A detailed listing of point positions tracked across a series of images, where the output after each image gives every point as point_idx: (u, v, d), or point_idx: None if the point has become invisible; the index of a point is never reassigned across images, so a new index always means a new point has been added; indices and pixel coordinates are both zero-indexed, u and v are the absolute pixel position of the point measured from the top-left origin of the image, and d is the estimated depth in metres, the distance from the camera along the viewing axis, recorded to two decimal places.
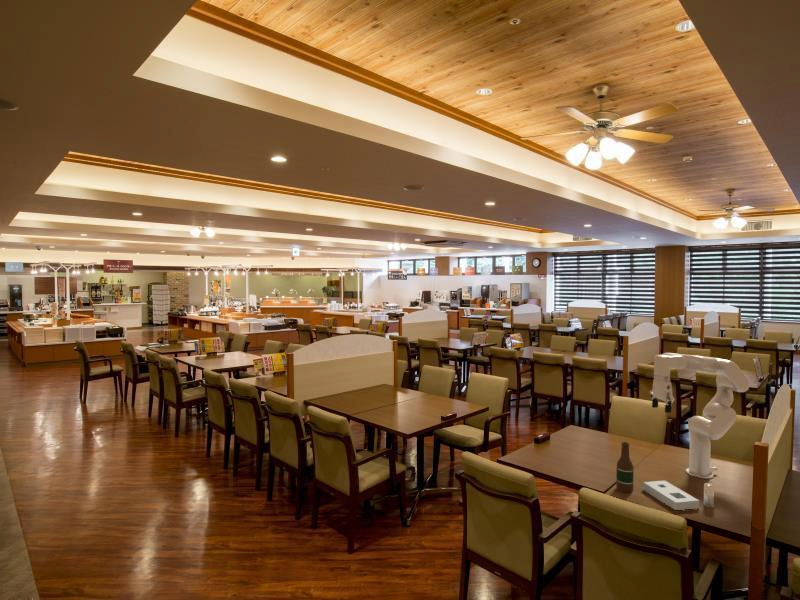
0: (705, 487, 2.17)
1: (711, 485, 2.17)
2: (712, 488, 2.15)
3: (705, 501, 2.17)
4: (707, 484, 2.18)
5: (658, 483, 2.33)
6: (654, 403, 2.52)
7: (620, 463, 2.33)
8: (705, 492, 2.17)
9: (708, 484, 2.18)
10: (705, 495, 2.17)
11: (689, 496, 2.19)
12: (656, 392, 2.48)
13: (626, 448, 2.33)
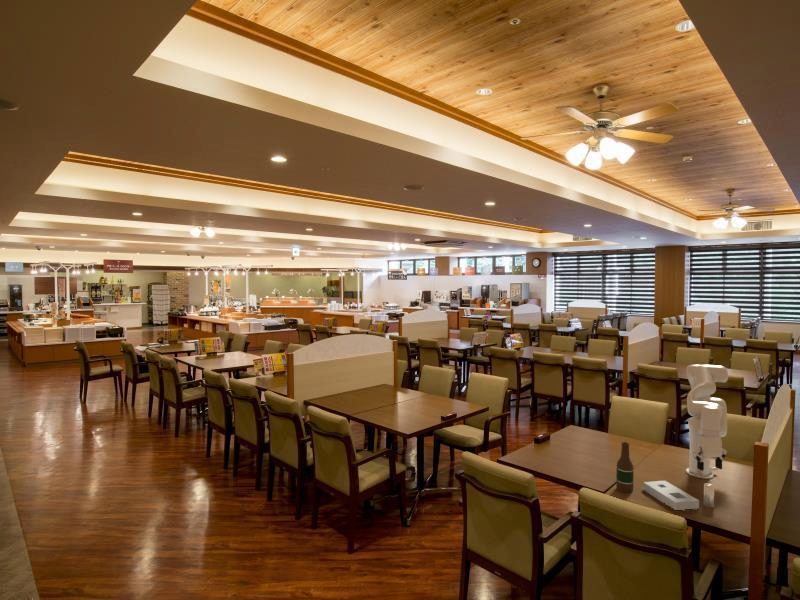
0: (705, 487, 2.17)
1: (711, 485, 2.17)
2: (712, 488, 2.15)
3: (705, 501, 2.17)
4: (707, 484, 2.18)
5: (658, 483, 2.33)
6: None
7: (620, 463, 2.33)
8: (705, 492, 2.17)
9: (708, 484, 2.18)
10: (705, 495, 2.17)
11: (689, 496, 2.19)
12: (712, 451, 2.14)
13: (626, 448, 2.33)
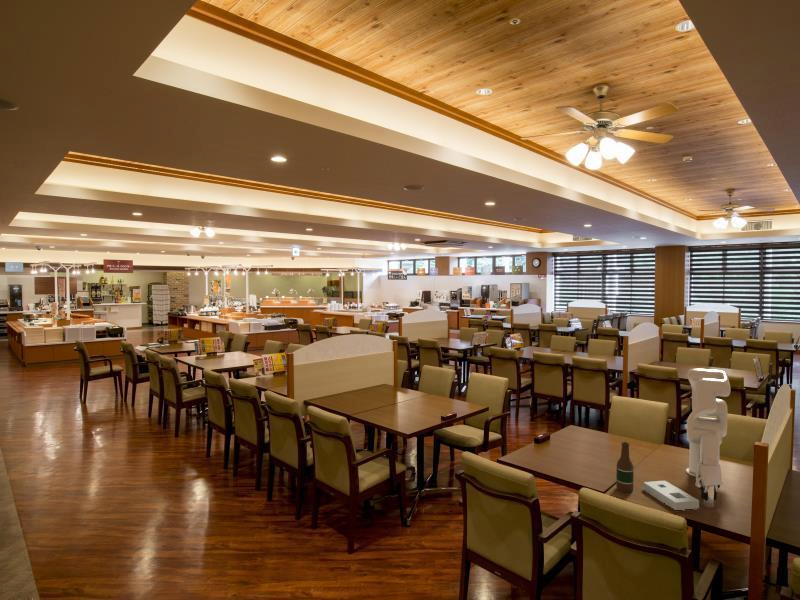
0: None
1: None
2: (712, 488, 2.15)
3: (705, 501, 2.17)
4: None
5: (658, 483, 2.33)
6: None
7: (620, 463, 2.33)
8: None
9: None
10: None
11: (689, 496, 2.19)
12: (711, 479, 2.15)
13: (626, 448, 2.33)
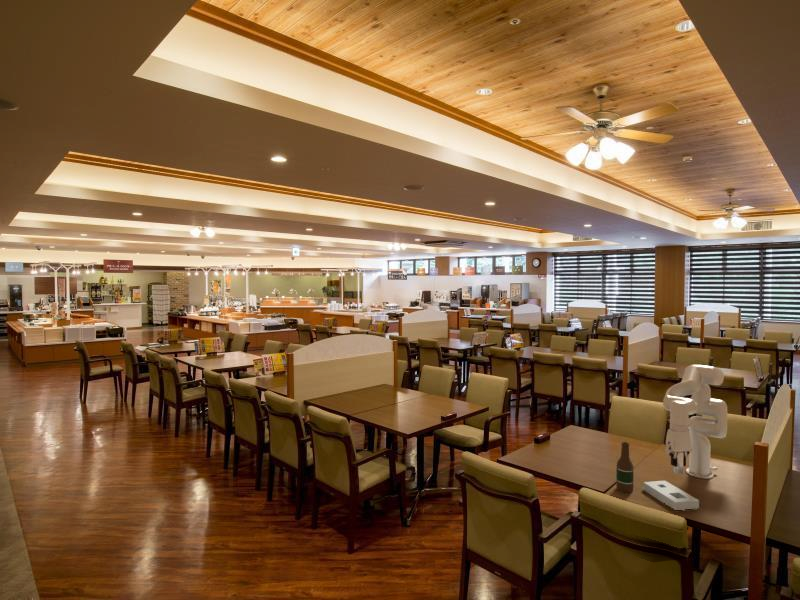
0: None
1: None
2: (681, 454, 2.17)
3: (675, 467, 2.18)
4: None
5: (658, 483, 2.33)
6: None
7: (620, 463, 2.33)
8: None
9: None
10: None
11: (689, 496, 2.19)
12: (680, 445, 2.16)
13: (626, 448, 2.33)
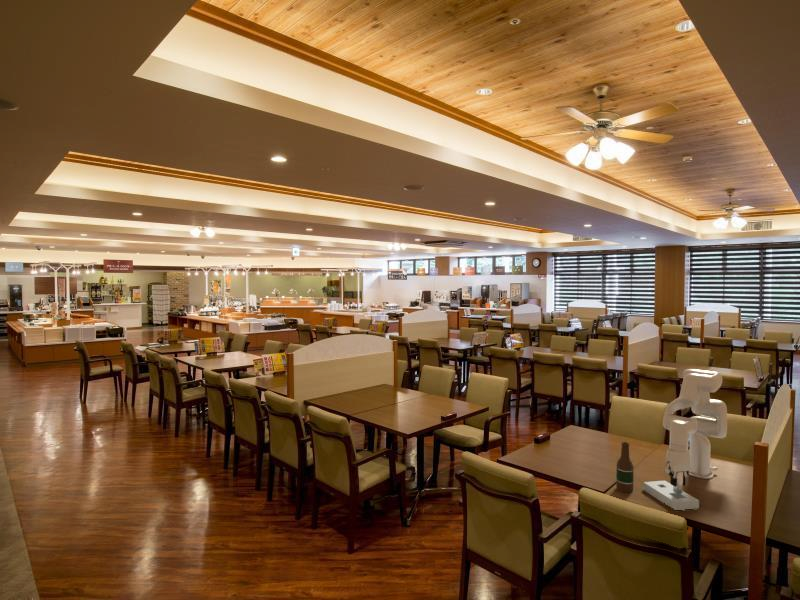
0: None
1: None
2: (681, 474, 2.17)
3: (674, 487, 2.19)
4: None
5: (658, 483, 2.33)
6: None
7: (620, 463, 2.33)
8: None
9: None
10: None
11: (689, 496, 2.19)
12: (680, 465, 2.16)
13: (626, 448, 2.33)
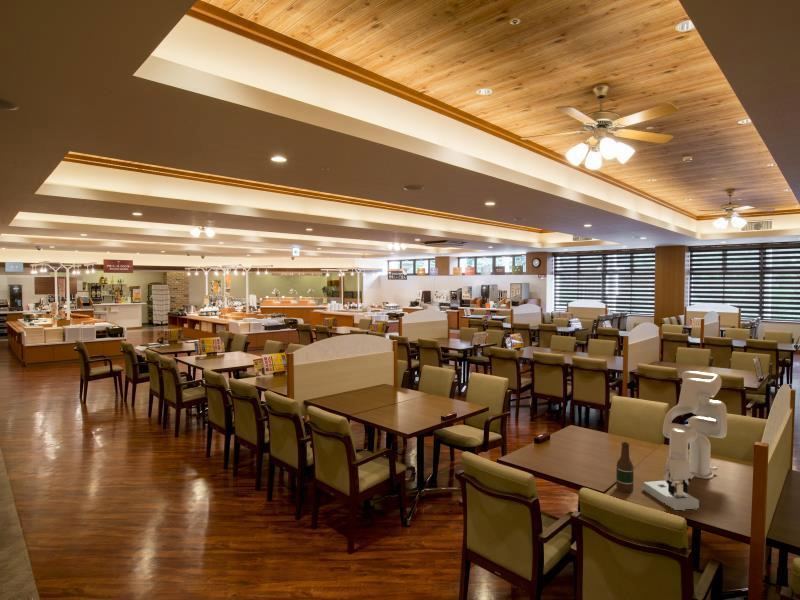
0: (674, 485, 2.19)
1: (680, 483, 2.18)
2: (681, 486, 2.17)
3: None
4: (676, 482, 2.20)
5: (658, 483, 2.33)
6: None
7: (620, 463, 2.33)
8: None
9: (677, 482, 2.19)
10: (674, 493, 2.19)
11: (689, 496, 2.19)
12: (680, 473, 2.17)
13: (626, 448, 2.33)
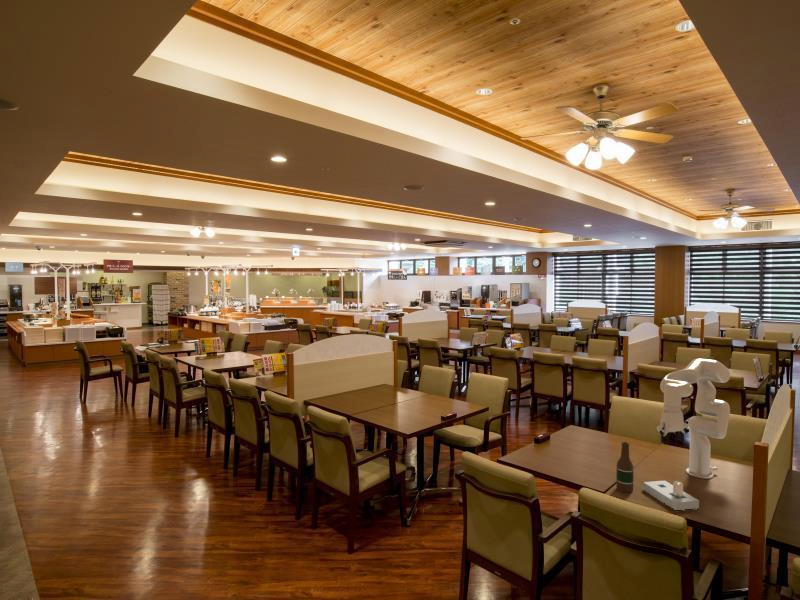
0: (674, 485, 2.19)
1: (680, 483, 2.18)
2: (681, 486, 2.17)
3: None
4: (676, 482, 2.20)
5: (658, 483, 2.33)
6: None
7: (620, 463, 2.33)
8: (674, 490, 2.19)
9: (677, 483, 2.19)
10: (674, 493, 2.19)
11: (689, 496, 2.19)
12: (674, 425, 2.28)
13: (626, 448, 2.33)
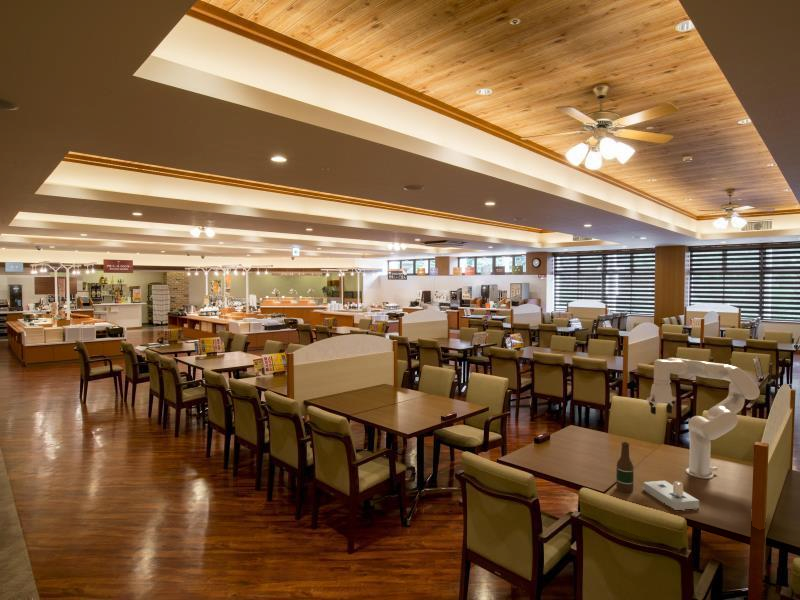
0: (674, 485, 2.19)
1: (680, 483, 2.18)
2: (681, 486, 2.17)
3: None
4: (676, 482, 2.20)
5: (658, 483, 2.33)
6: None
7: (620, 463, 2.33)
8: (674, 490, 2.19)
9: (677, 483, 2.19)
10: (674, 493, 2.19)
11: (689, 496, 2.19)
12: (662, 397, 2.51)
13: (626, 448, 2.33)
